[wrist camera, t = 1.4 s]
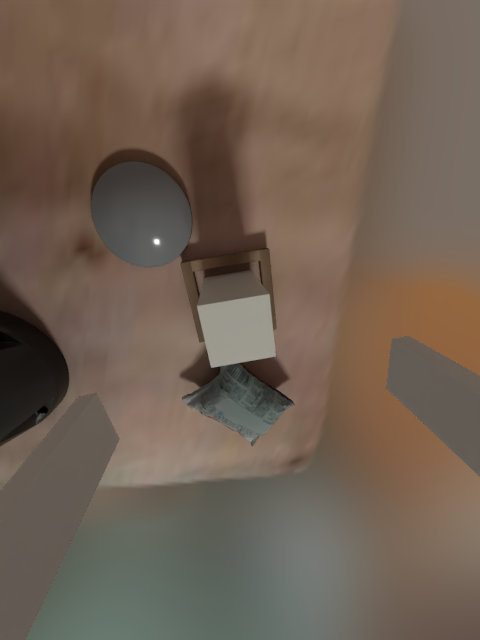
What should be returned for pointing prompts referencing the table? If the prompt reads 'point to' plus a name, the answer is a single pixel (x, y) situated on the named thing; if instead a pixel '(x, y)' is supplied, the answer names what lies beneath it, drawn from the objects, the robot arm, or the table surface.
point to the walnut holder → (221, 261)
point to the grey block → (236, 319)
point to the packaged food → (240, 401)
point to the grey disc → (141, 214)
